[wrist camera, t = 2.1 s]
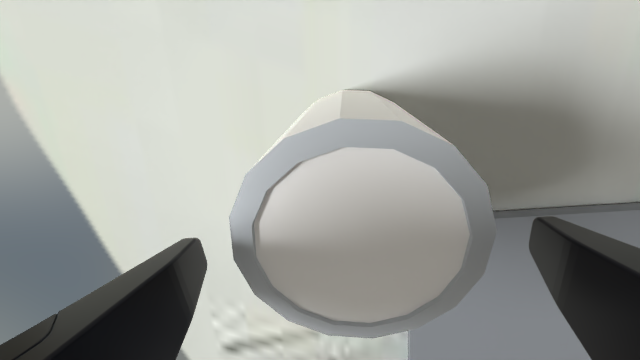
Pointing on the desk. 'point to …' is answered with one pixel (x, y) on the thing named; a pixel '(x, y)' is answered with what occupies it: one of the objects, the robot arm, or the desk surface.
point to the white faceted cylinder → (361, 220)
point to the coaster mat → (517, 295)
